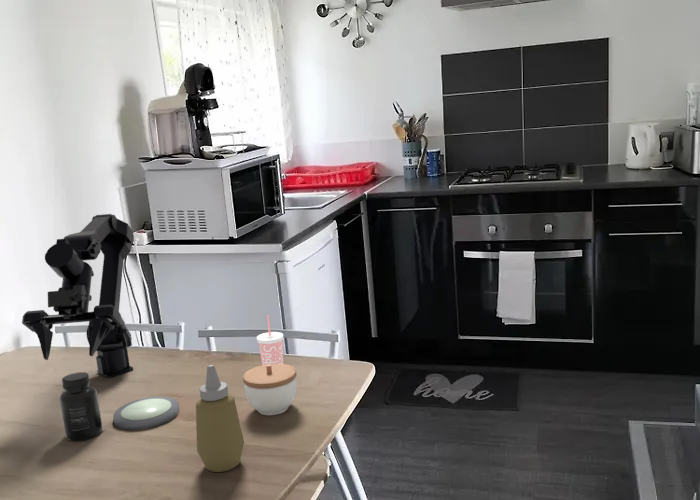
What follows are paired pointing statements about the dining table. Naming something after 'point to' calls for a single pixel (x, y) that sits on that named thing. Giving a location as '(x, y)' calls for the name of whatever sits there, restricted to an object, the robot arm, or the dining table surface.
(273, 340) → the beverage cup
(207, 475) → the dining table surface
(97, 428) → the supplement bottle
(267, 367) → the lidded jar
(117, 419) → the plate
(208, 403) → the squeeze bottle
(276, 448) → the dining table surface
